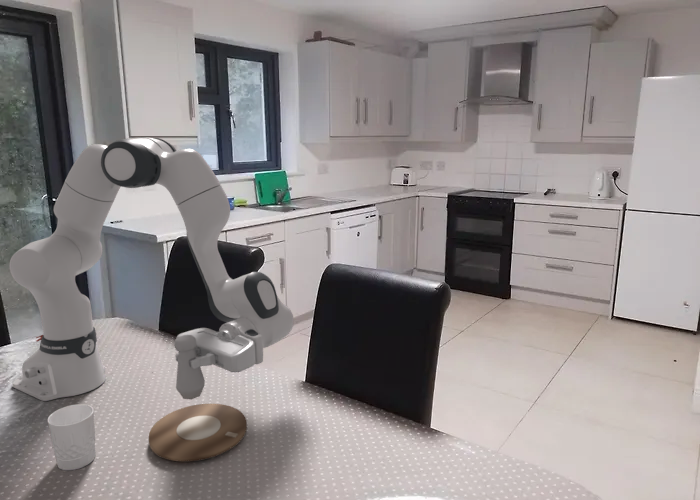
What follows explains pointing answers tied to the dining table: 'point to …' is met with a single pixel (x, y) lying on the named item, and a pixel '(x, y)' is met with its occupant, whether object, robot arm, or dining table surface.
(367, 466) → the dining table surface
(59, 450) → the white cup
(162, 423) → the turntable
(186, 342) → the salt shaker
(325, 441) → the dining table surface
